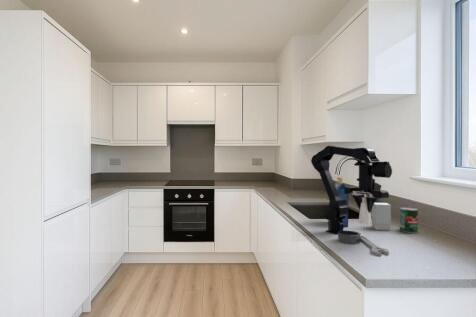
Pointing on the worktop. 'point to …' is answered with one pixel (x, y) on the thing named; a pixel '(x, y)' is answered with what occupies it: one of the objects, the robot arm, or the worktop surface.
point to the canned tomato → (408, 220)
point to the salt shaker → (364, 212)
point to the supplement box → (381, 216)
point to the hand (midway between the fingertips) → (365, 211)
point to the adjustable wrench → (374, 247)
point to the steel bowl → (349, 237)
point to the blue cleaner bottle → (342, 196)
